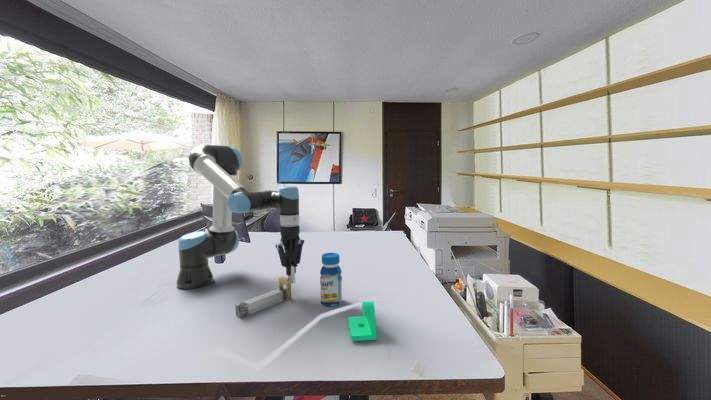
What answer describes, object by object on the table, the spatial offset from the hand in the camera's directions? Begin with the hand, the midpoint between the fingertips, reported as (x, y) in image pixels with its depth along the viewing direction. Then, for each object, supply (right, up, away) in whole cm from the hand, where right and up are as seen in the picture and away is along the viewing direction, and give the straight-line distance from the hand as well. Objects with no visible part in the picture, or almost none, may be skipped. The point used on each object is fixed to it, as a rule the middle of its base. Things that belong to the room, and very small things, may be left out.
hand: (291, 282), depth 120 cm
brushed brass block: (-2, -6, -2) cm, 7 cm away
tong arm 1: (-10, -7, -10) cm, 15 cm away
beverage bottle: (+17, -8, -6) cm, 19 cm away
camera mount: (+28, -9, -26) cm, 39 cm away
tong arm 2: (-8, -7, -11) cm, 15 cm away
